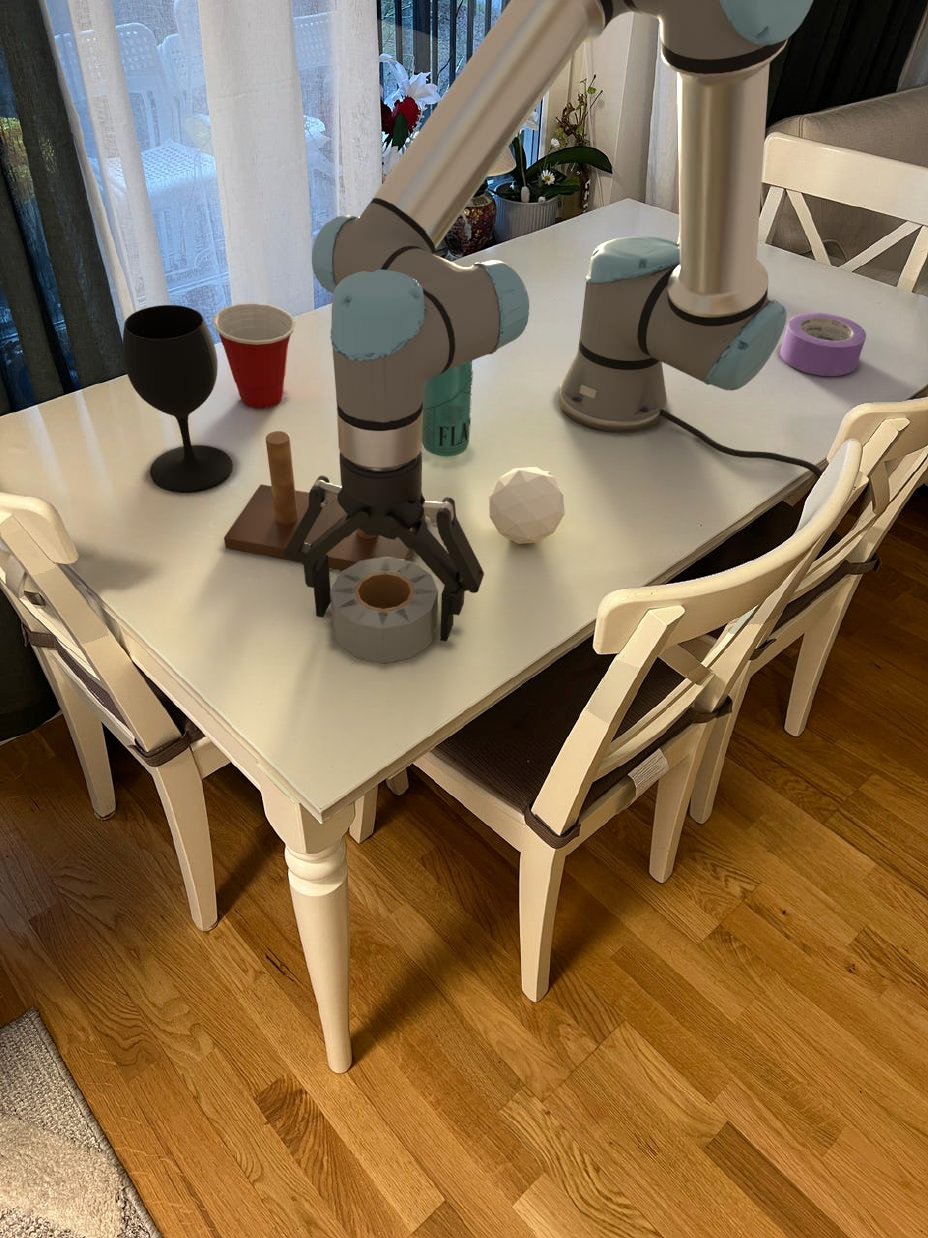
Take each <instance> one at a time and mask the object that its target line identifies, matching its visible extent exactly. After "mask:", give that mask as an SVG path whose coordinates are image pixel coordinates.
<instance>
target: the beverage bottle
mask: <svg viewBox="0 0 928 1238" xmlns="http://www.w3.org/2000/svg"><path fill="white" fill-rule="evenodd" d="M473 373H474V372H473V360H472V361H469V362H467V363H464V364H462V365H459V366H457V367H454V368H452V369H449V370H447V371H445V372H443V373H442V374H439V375H437V376H434V377H432V378H430V379H427V380H425V382H424V388H423V418H422V447H423V449H425V450H426V451H427V452H428V453H429V454H431V455H434V456H438V457H455V456H458V455H460V454H462V453H464V452H465V451H466V450H467V448H468V446H469V443H470V433H471V430H470V426H471V420H472V419H471V418H472V417H471V412H472V407H471V406H472V398H471V397H472V396H473V394H472V390H473V379H474V378H473V377H474V374H473Z"/></svg>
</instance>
